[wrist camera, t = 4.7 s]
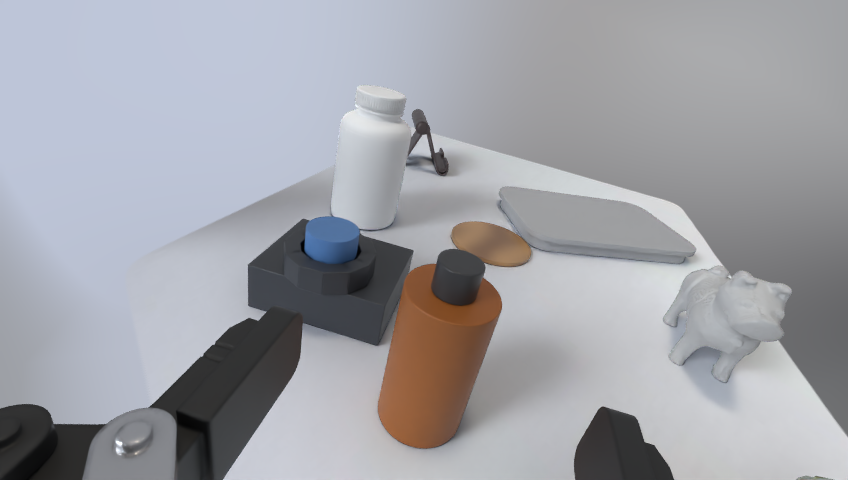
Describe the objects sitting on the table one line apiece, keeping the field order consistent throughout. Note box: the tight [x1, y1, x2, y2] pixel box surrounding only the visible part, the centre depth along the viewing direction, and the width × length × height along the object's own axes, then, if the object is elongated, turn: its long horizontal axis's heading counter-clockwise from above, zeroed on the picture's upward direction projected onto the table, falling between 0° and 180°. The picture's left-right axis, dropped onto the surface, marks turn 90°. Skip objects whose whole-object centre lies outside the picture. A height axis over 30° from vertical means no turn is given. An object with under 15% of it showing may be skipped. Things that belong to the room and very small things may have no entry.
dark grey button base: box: [248, 219, 413, 345], centre depth 35 cm, size 11×10×6 cm
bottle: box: [378, 249, 502, 448], centre depth 25 cm, size 6×6×12 cm
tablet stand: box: [407, 109, 449, 175], centre depth 70 cm, size 9×8×8 cm
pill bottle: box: [331, 85, 411, 230], centre depth 47 cm, size 8×8×15 cm
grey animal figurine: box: [663, 266, 792, 383], centre depth 37 cm, size 5×13×11 cm, turn 158°
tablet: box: [499, 187, 696, 264], centre depth 61 cm, size 16×26×2 cm, turn 99°
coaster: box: [451, 222, 531, 267], centre depth 51 cm, size 10×10×1 cm
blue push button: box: [304, 216, 360, 264], centre depth 32 cm, size 4×4×2 cm
